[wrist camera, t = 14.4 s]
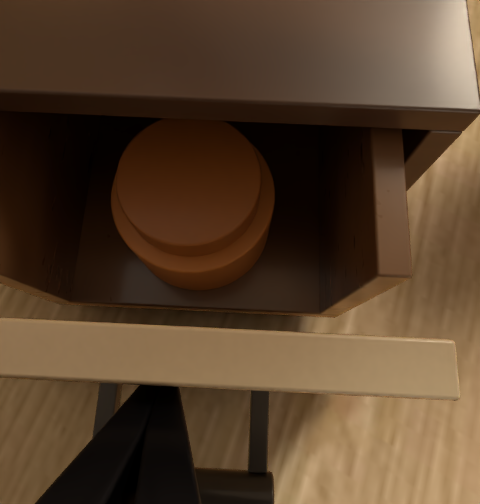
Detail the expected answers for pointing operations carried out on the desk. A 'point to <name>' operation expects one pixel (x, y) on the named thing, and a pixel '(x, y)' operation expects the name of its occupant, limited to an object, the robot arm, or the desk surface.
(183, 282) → the stacked orange cylinders
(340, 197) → the drawer
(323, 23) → the cabinet
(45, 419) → the desk surface
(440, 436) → the desk surface
